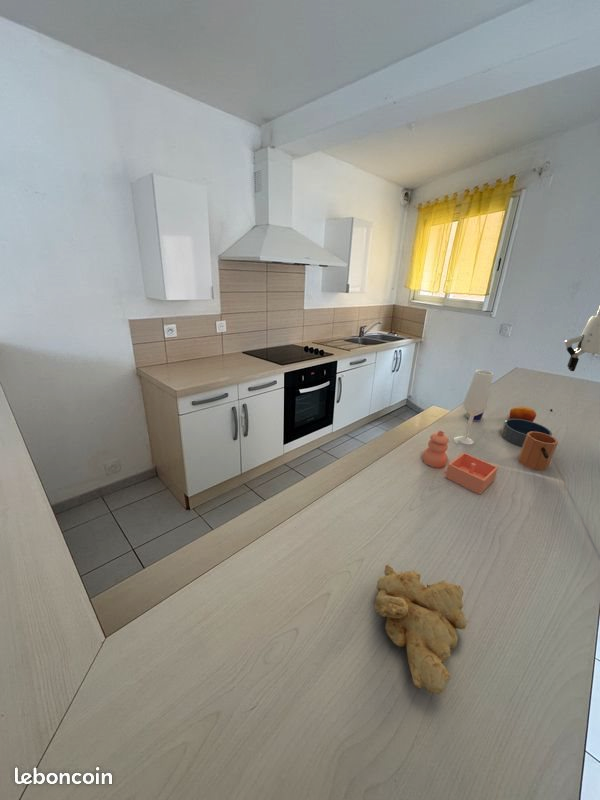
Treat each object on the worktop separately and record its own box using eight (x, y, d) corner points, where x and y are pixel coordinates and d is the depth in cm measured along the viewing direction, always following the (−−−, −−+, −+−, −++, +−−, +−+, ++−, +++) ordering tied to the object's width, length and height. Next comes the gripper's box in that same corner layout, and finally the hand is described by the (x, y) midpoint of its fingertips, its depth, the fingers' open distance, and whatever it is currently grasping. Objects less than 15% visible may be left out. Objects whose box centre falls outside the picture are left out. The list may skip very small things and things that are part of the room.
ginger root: (400, 556, 61) (416, 532, 56) (476, 641, 51) (502, 620, 46) (339, 603, 52) (351, 580, 48) (415, 716, 43) (440, 700, 38)
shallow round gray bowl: (542, 437, 111) (547, 424, 109) (550, 455, 100) (556, 441, 98) (498, 428, 116) (502, 415, 114) (502, 444, 105) (507, 431, 103)
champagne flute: (464, 448, 102) (484, 376, 92) (448, 437, 108) (467, 369, 98) (480, 445, 104) (502, 375, 94) (464, 435, 110) (484, 368, 100)
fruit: (514, 425, 115) (516, 403, 116) (504, 427, 123) (506, 406, 124) (539, 428, 114) (541, 406, 115) (528, 430, 121) (529, 409, 122)
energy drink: (462, 419, 121) (471, 389, 117) (468, 415, 125) (476, 386, 120) (477, 424, 118) (486, 394, 113) (482, 420, 121) (491, 391, 117)
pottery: (493, 480, 87) (504, 449, 83) (479, 494, 81) (490, 461, 77) (431, 451, 99) (438, 423, 95) (415, 462, 93) (421, 432, 89)
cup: (543, 462, 96) (554, 435, 93) (552, 484, 86) (565, 455, 83) (516, 455, 99) (525, 429, 95) (522, 476, 89) (533, 447, 85)
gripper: (650, 314, 87) (623, 374, 94) (572, 308, 94) (552, 365, 100) (665, 317, 81) (635, 381, 88) (581, 311, 87) (558, 371, 94)
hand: (591, 372), depth 94 cm, fingers open, 9 cm apart
